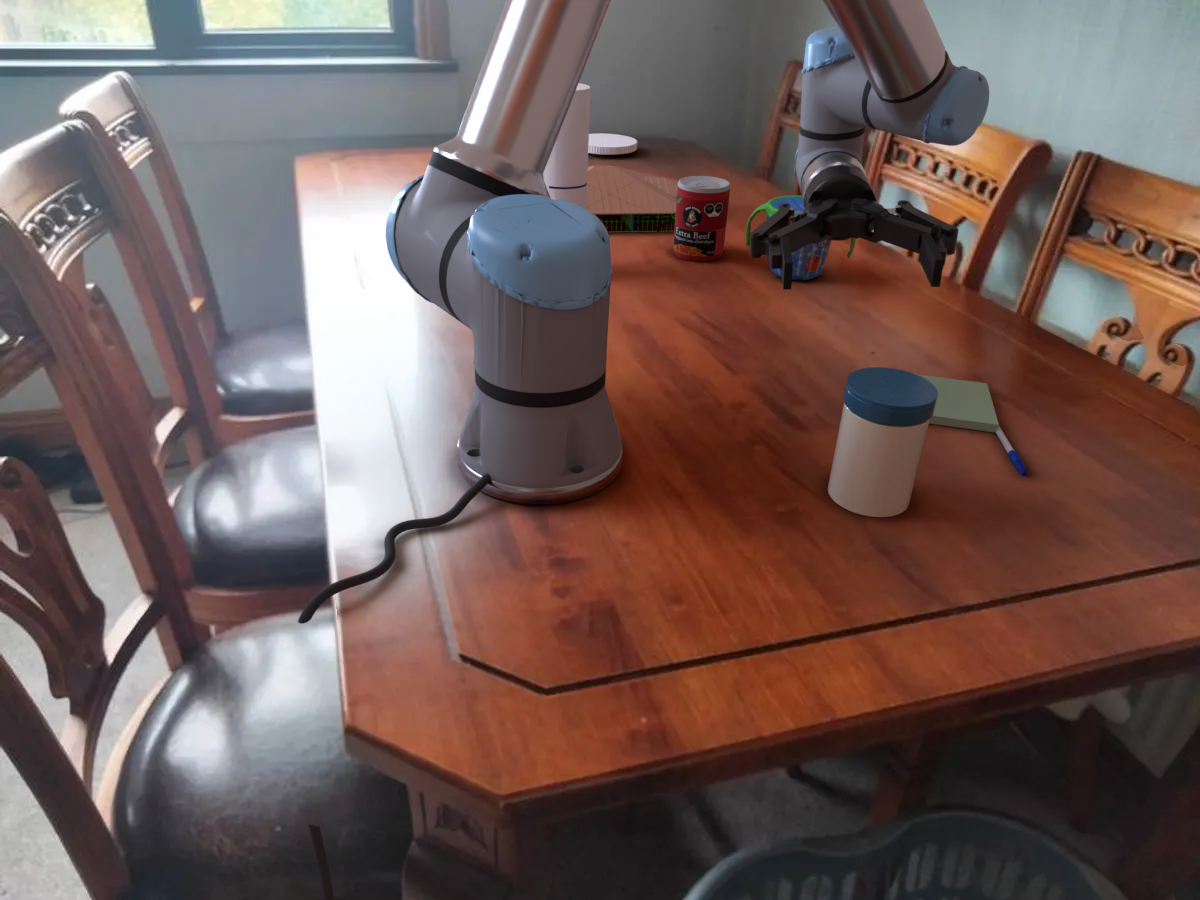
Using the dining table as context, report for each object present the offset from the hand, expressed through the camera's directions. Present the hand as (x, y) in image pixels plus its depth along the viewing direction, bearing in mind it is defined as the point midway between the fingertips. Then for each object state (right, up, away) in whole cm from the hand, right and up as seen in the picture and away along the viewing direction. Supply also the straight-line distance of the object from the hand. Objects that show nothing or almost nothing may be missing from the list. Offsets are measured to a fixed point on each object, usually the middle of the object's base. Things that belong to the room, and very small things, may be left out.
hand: (862, 275), depth 85 cm
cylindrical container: (-30, +10, +47) cm, 57 cm away
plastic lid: (-23, +49, +114) cm, 126 cm away
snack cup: (+4, +9, +49) cm, 50 cm away
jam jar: (0, -20, -3) cm, 21 cm away
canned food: (-9, +14, +55) cm, 58 cm away
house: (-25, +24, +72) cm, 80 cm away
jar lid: (0, -11, -8) cm, 14 cm away
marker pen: (+16, -17, +6) cm, 24 cm away
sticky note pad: (+13, -11, +13) cm, 22 cm away
